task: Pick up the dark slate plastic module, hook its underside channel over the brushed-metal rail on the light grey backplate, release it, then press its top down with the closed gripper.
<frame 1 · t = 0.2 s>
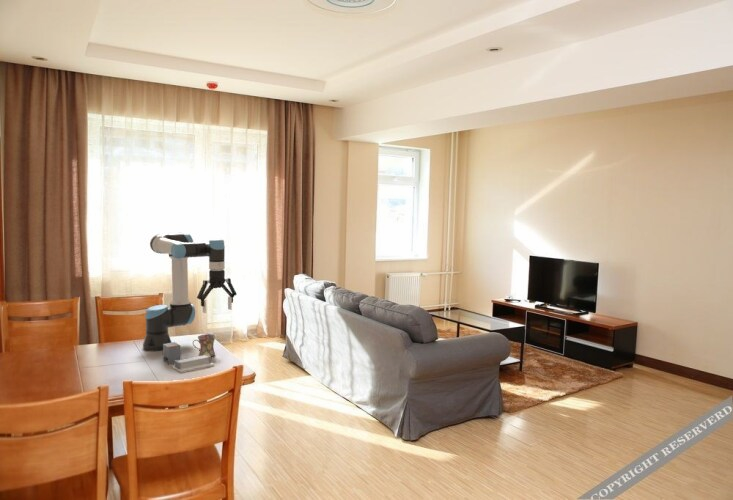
hand: (217, 311, 266), 28 cm above the table, fingers open, 13 cm apart
mug: (204, 356, 281), on the table
module: (172, 361, 271), on the table
din plate: (193, 366, 263), on the table
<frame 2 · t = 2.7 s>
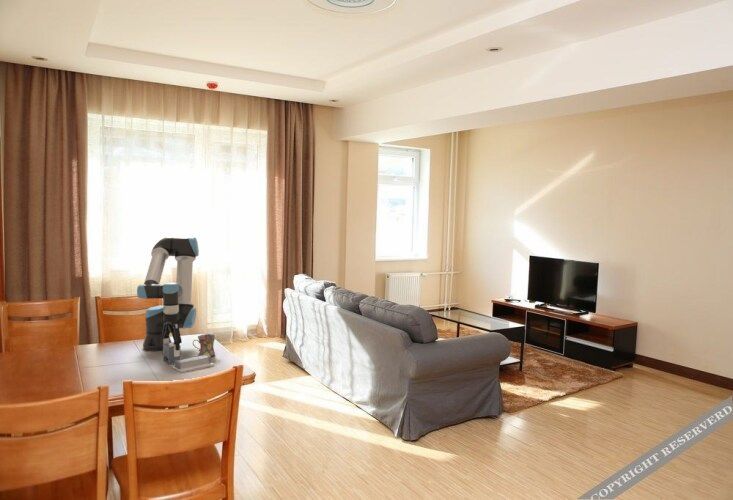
hand: (171, 353, 270), 4 cm above the table, fingers open, 13 cm apart
nothing on the table moved.
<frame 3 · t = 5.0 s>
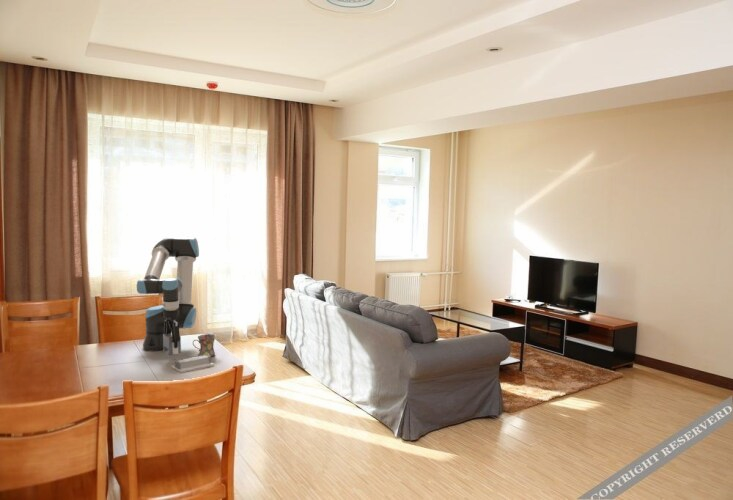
hand: (172, 351, 271), 5 cm above the table, fingers closed on module, 8 cm apart
module: (172, 352, 271), point 5 cm above the table, touching gripper
everything else where it was.
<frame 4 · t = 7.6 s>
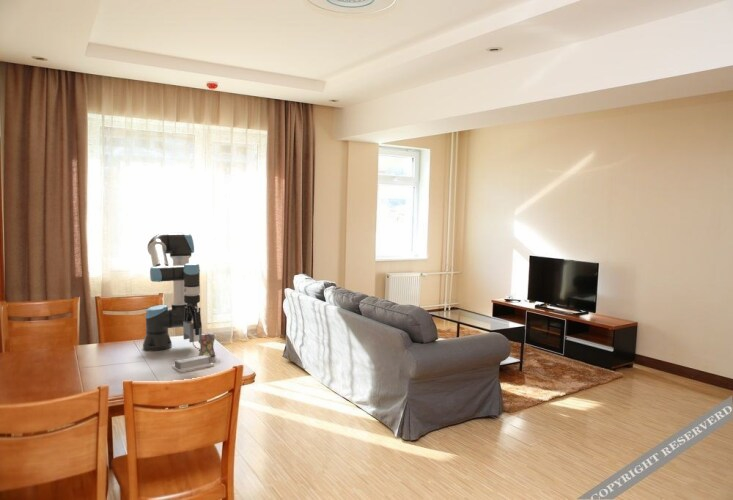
hand: (192, 339, 262), 14 cm above the table, fingers closed on module, 8 cm apart
module: (192, 339, 262), point 14 cm above the table, touching gripper
everything else where it was.
when the fingers open (3 cm above the table, at t = 10.3 s): module drops 2 cm, resting on din plate.
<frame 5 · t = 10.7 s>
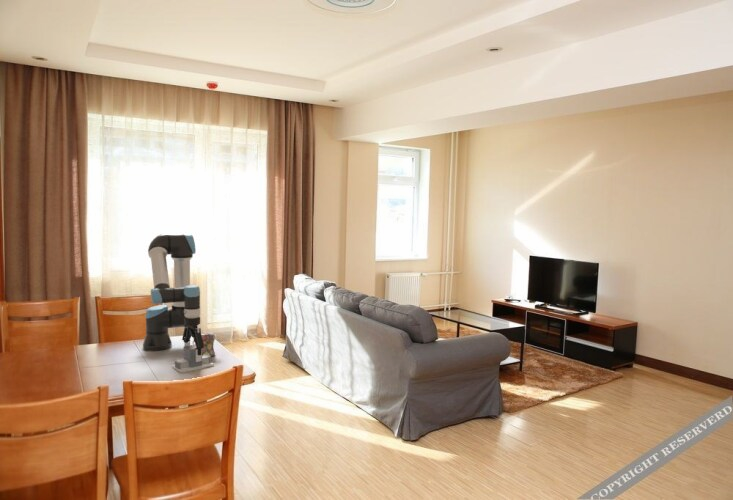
hand: (192, 358, 263), 4 cm above the table, fingers open, 13 cm apart
module: (193, 364, 263), point 1 cm above the table, touching din plate
everything else where it was.
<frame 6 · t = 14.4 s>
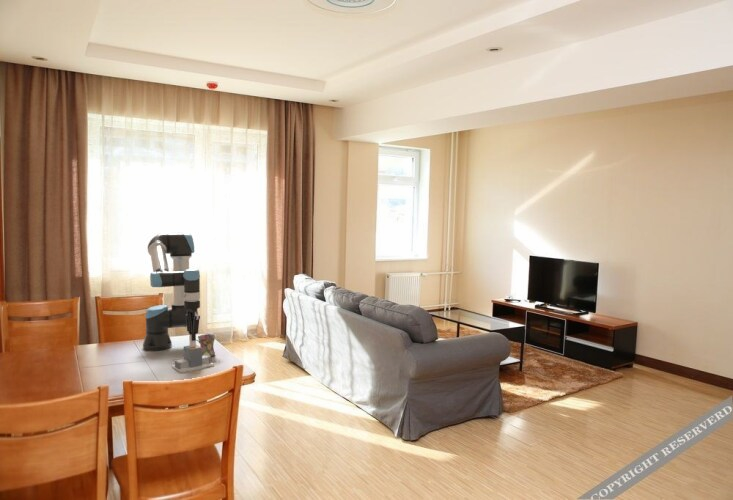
hand: (192, 346, 262), 10 cm above the table, fingers closed
nothing on the table moved.
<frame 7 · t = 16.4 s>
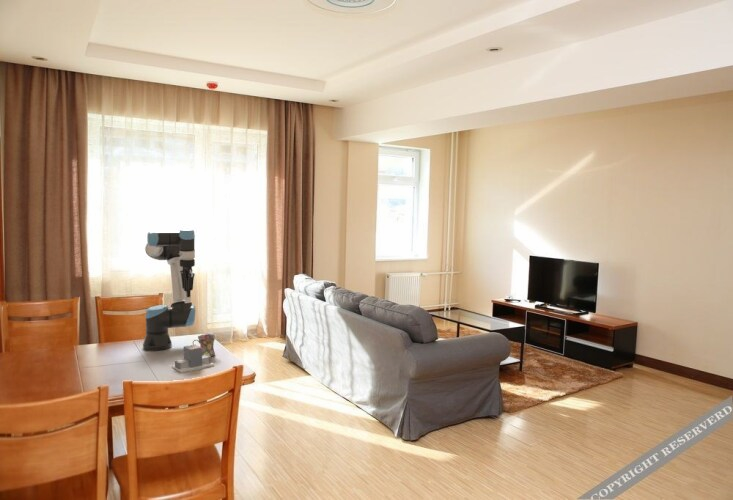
hand: (187, 302, 277), 29 cm above the table, fingers closed
nothing on the table moved.
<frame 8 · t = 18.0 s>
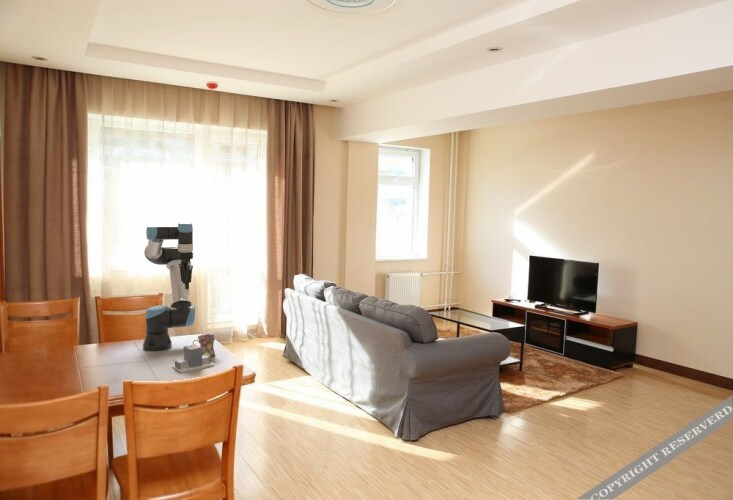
hand: (186, 294, 282), 32 cm above the table, fingers closed
nothing on the table moved.
at the end: module inside the target area on the din plate (0.0 cm from its centre), point 1.0 cm above the din plate's base; module tilted 0°; the gripper is holding nothing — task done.
